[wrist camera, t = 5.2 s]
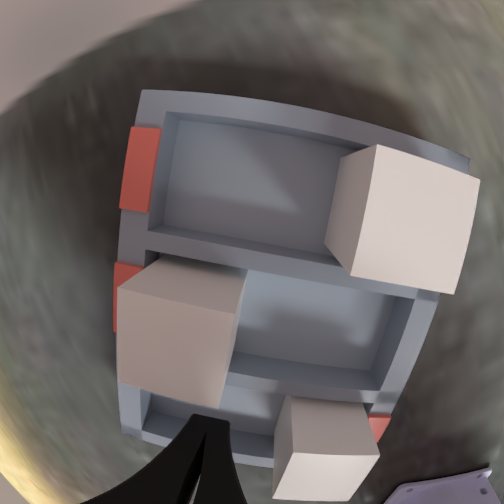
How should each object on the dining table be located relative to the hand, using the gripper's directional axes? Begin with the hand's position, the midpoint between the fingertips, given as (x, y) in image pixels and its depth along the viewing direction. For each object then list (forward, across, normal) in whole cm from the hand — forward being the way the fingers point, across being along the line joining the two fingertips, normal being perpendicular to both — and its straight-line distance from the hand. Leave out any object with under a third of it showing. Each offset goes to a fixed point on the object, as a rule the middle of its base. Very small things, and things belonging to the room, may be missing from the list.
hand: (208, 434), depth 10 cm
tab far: (+2, -4, 0) cm, 5 cm away
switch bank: (+3, -2, -4) cm, 6 cm away
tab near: (+2, -4, -9) cm, 10 cm away
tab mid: (+2, +1, -4) cm, 5 cm away
